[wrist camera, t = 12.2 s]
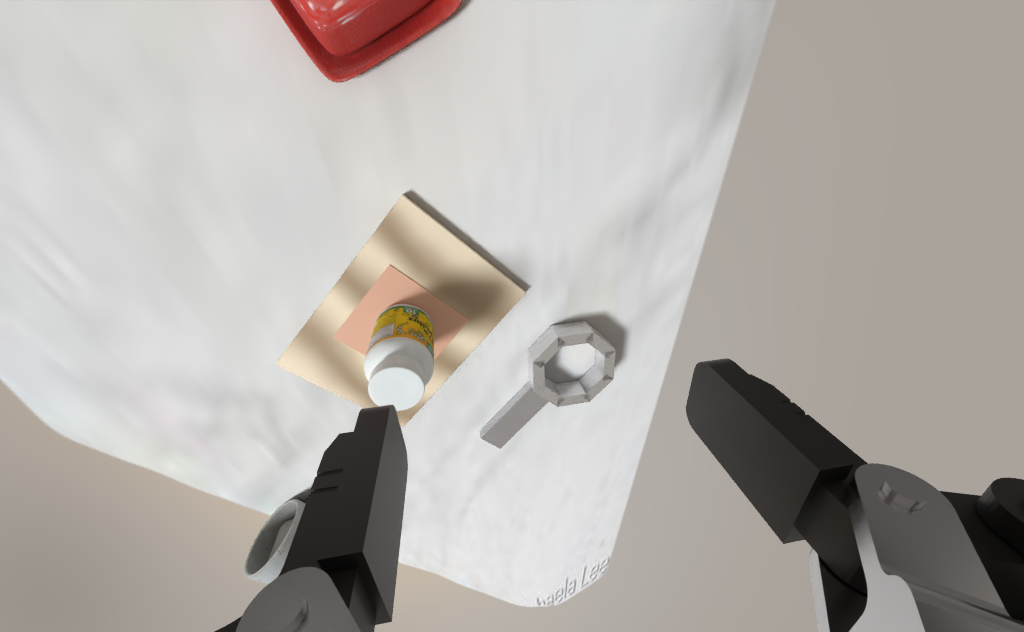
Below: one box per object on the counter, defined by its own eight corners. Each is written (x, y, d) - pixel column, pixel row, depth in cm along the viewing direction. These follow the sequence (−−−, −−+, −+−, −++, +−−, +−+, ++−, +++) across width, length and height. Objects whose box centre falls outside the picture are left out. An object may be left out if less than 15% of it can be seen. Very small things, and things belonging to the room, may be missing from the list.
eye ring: (568, 307, 39) (576, 317, 37) (620, 350, 43) (630, 362, 40) (459, 420, 43) (461, 435, 41) (516, 450, 47) (520, 466, 44)
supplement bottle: (363, 321, 35) (339, 384, 26) (411, 291, 34) (403, 344, 26) (400, 361, 37) (389, 429, 29) (445, 333, 37) (448, 394, 28)
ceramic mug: (319, 546, 48) (300, 614, 41) (261, 520, 44) (229, 591, 38) (378, 501, 46) (368, 565, 40) (322, 470, 43) (301, 535, 36)
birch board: (403, 193, 31) (402, 195, 31) (523, 289, 37) (525, 293, 36) (278, 359, 36) (275, 365, 35) (403, 422, 42) (403, 427, 41)
